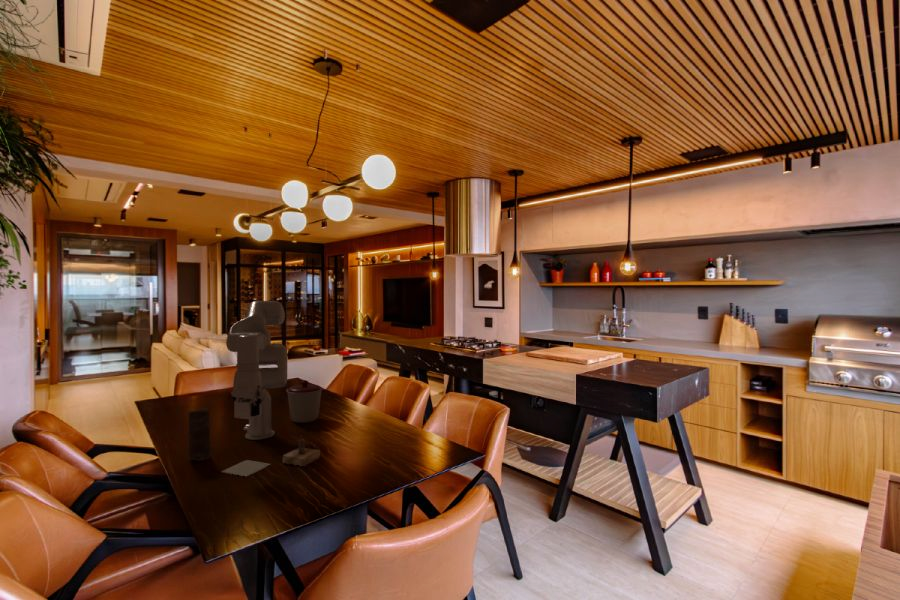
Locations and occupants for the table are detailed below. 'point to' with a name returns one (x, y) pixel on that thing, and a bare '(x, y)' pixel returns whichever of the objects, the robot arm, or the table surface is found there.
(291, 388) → the canister
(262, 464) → the rubber pad
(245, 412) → the hollow square tube
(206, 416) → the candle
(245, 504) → the table surface
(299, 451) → the peg stand
